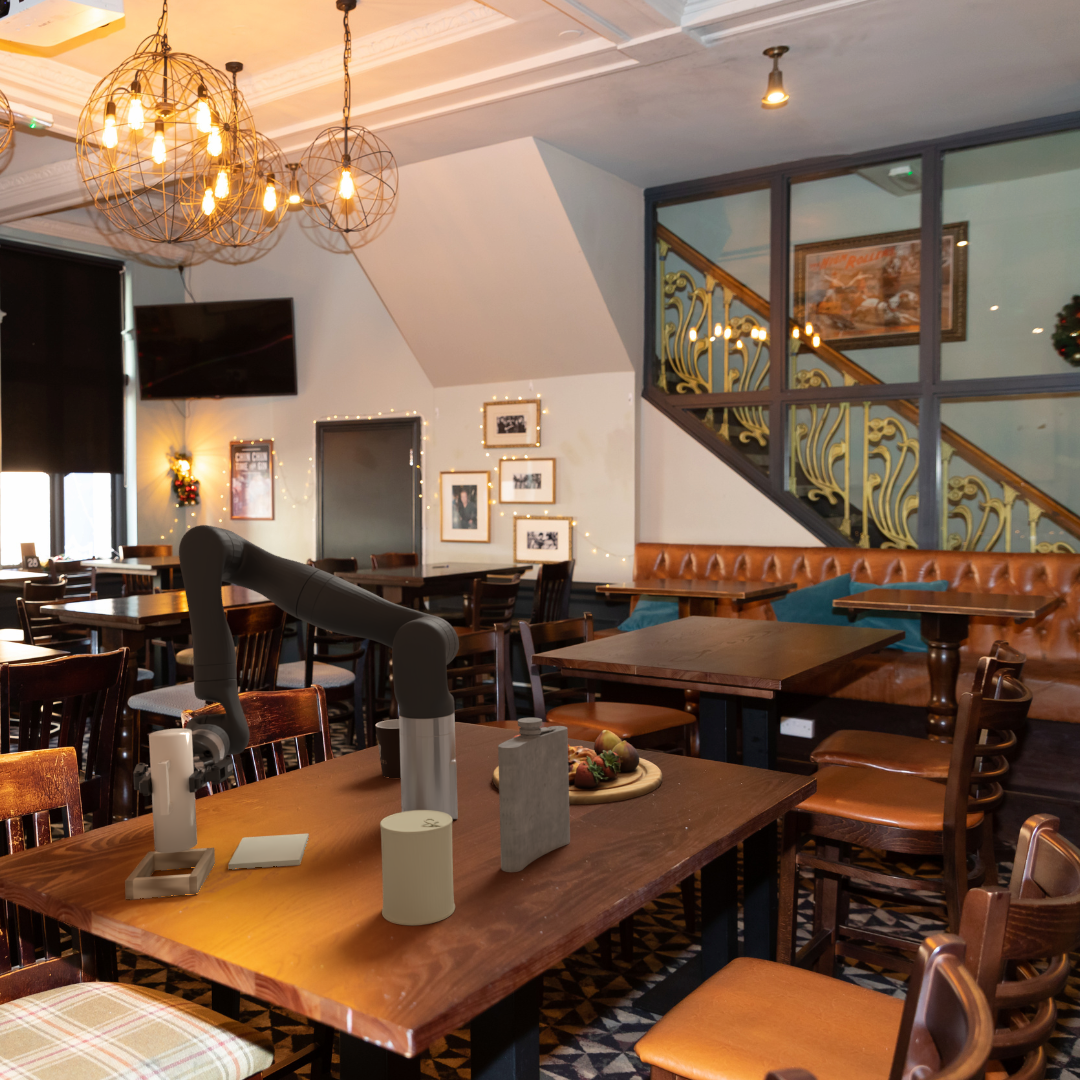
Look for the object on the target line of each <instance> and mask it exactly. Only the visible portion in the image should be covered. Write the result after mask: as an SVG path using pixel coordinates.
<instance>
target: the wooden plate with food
mask: <svg viewBox="0 0 1080 1080" xmlns="http://www.w3.org/2000/svg"><path fill="white" fill-rule="evenodd" d="M517 736H520V734H518V735H517V734H516V735H514V736H513V738H514V737H517ZM593 745H594V747H593V749H590V748H588V747H584V746H582V745H576V746H575V745H574V746H571V745H570V744H569V743H568V774H569V805H591V804H592V805H593V804H604V803H611V802H614V803H615V802H619V801H626V800H629V799H635V798H637V797H641V796H644V795H647V794H648V793H649V794H650V793H651V792H653V791H655V790H656V789H658V788H659V787H660V786H661V784H662V782H663V773H662V770H661V769H660V768H659V767H658V766H657V765H656V764H654V763H653V762H651V761H649V760H647V759H644V758H641V757H640V755H639V752H638V750H637V749H636V748H635V747H634V746H633V744H630V743H629V742H627V740H623V741H622V739H621V738H620V737H619V736H618V735H617V734H615V732H612V731H611V730H608V729H603V730H602V731H601V732H600V733H599V735H598V736H597V738H596V739H595V741H594V744H593ZM491 776H492V782H493V785H494V786H495V787H496V789H498V790H499V765H498V766H496V767H495V768H494V770H493V772H492V775H491Z"/></svg>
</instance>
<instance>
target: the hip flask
mask: <svg viewBox="0 0 1080 1080" xmlns="http://www.w3.org/2000/svg"><path fill="white" fill-rule="evenodd" d="M541 726H543V719H542V718H539V717H523V718H518V719H517V727H519V731H518V732H519V735H520V736H517V735H516V736H517V737H514V736H513V737H511V738H510V739H508V740H505V741H503V742H501V743H499V744H498V745H497V750H498V751H497V752H498V755H497V756H498V757H497V759H498V766H499V789H498V792H499V827H500V828H499V831H500V832H499V833H500V838H499V839H500V870H501V871H503V872H506V873H517V872H521V871H523V870H524V869H525V868H526V867H527V866H528V865H530V864H531V863H532V862H534V861H536V860H537V859H539V858H541V857H542V856H544V855H546V854H549V853H550V852H552V851H554V850H556V849H559V848H561V847H564V846H567V845H569V844H570V843H571V828H570V826H571V825H570V820H571V819H570V804H569V774H568V744H569V743H568V742H569V740H568V738H569V736H568V727H567V726H564V725H552V726H544V727H541Z"/></svg>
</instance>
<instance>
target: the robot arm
mask: <svg viewBox="0 0 1080 1080" xmlns="http://www.w3.org/2000/svg"><path fill="white" fill-rule="evenodd" d="M178 558H179V559H178V561H179V566H180V571H181V576H182V580H183V586H184V592H185V597H186V604H187V610H188V614H189V615H188V616H189V621H190V629H191V637H192V653H193V691H194V696H195V698H196V699H198V700H200V701H205V702H214V703H218V704H220V705H221V706H222V708H224V711H225V713H217V714H201V715H197V716H194V717H192V718H190V719H189V720H188V721H187V723H186V725H185V727H184V729H190V730H192V747H193V767H194V773H193V774H192V775H191V776H190V777H189V791H190V793H193V792H195V793H196V792H198V790H200V789H202V788H204V787H206V786H207V785H208V783H210V782H211V784H212V785H215V786H216V785H220V784H221V783H223V782H224V781H225V780H227V779H228V778H230V777H231V776H232V775H233V773H234V772H233V771H234V770H233V768H234V767H233V757H230V756H231V755H239V754H241V753H243V752H244V750H245V749H246V748H247V747H248V744H249V741H250V734H251V733H250V729H249V724H248V722H247V721H248V720H247V719H246V716H245V712H244V710H243V706H242V704H241V701H240V695H239V690H238V680H237V673H238V672H237V655H236V648H235V647H236V646H235V642H234V638H233V635H232V631H231V629H230V625H229V623H228V621H227V616H226V613H225V608H224V604H223V595H222V594H223V591H222V590H223V589H222V587H223V585H222V583H223V582H224V583H230V584H233V585H235V586H238V587H242V588H244V589H247V590H251V591H253V592H256V593H258V594H259V595H262V596H263V597H265V598H266V599H267V600H269V601H270V602H271V603H273V604H274V605H275V606H276V607H278V608H279V609H281V610H282V611H283V612H285V613H287V614H289V615H290V616H292V617H294V618H296V619H298V620H301V621H302V622H305V623H308V624H310V625H312V626H315V627H317V628H319V629H323V630H326V631H329V632H332V633H337V634H342V635H346V636H351V637H357V638H361V639H362V638H363V639H367V640H371V641H374V642H377V643H380V644H383V645H385V646H386V647H389V648H391V649H392V651H391V652H392V654H391V656H392V657H391V658H392V659H391V660H392V677H393V690H394V692H393V693H394V696H395V700H396V702H397V705H398V719H399V727H400V767H401V779H400V798H401V801H400V802H401V803H400V805H401V806H400V807H401V812H405V811H414V810H432V811H440V812H444V813H446V814H449V815H450V816H451V817H452V820H457V819H459V818H458V817H459V816H458V812H459V811H458V807H459V806H458V778H457V776H458V775H457V769H458V768H457V758H456V755H457V754H456V725H455V722H456V721H455V698H454V696H453V694H451V692H450V690H449V686H448V673H447V671H448V669H447V665H449V664H450V663H451V662H452V661H453V660H454V659H455V658H456V656H457V655H458V652H459V649H460V642H459V641H460V640H459V637H458V636H459V635H458V634H457V632H456V630H455V628H454V627H453V626H452V624H451V623H449V622H448V621H447V620H445V619H444V618H442V617H439V616H437V615H433V614H429V613H425V612H422V611H419V610H415V609H413V608H409V607H405V606H402V605H400V604H397V603H394V602H391V601H389V600H387V599H385V598H383V597H380V596H378V595H377V594H375V593H373V592H371V591H369V590H367V589H364V588H363V587H360V586H358V585H356V584H354V583H352V582H349V581H347V580H346V579H343V578H341V577H339V576H337V575H335V574H332V573H330V572H327V571H325V570H322V569H320V568H317V567H314V566H311V565H309V564H307V563H303V562H299V561H298V560H297V561H296V560H293V559H290V558H284V557H282V556H278V555H277V554H273V553H272V552H270V551H268V550H265V549H263V548H261V547H260V546H258V545H256V544H254V543H252V542H251V541H249V540H247V539H245V538H244V537H242V536H240V535H238V533H236V532H234V531H231V530H229V529H225V528H222V527H218V526H212V525H206V524H200V525H195V526H194V527H191V528H190V529H189V530H187V531H186V532H185V534H184V535H183V536H182V538H181V540H180V542H179V547H178ZM133 786H134V787H133V789H134V791H139V793H140V794H142V796H143V797H148V796H150V795H152V785H151V767H149V764H146V763H144V762H139V763H137V764H136V766H135V768H134V770H133Z"/></svg>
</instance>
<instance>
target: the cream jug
mask: <svg viewBox="0 0 1080 1080" xmlns="http://www.w3.org/2000/svg"><path fill="white" fill-rule="evenodd" d="M148 741H149V742H148V743H149V763H150V768H151V785H152V793H151V800H152V802H151V803H152V804H151V805H152V821H153V840H154V843H153V844H154V851H157V852H160V853H174V852H180V851H185V850H188V849H194V847H196V846H197V845H198V833H197V832H198V830H197V813H196V812H197V811H196V810H197V809H196V808H197V807H196V792H193V793H190V791H189V777H190V776H191V775H192V774H193V773H194V767H193V747H192V730H190V729H185V728H170V729H169V728H168V729H163V730H157V731H154V732H151V733H149V734H148Z"/></svg>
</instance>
